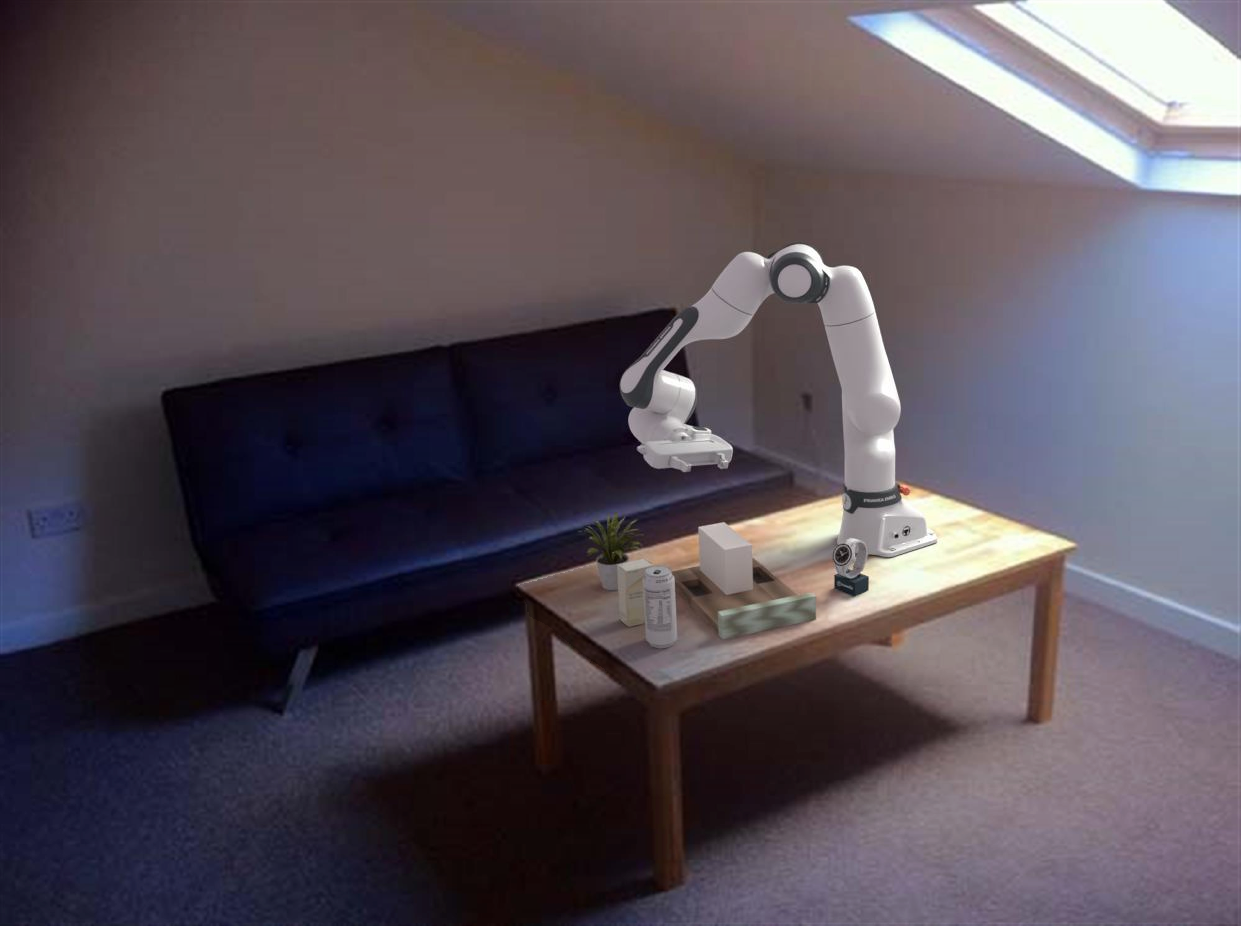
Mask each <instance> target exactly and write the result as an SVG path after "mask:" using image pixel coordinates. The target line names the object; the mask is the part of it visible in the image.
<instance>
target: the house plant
mask: <svg viewBox="0 0 1241 926" xmlns="http://www.w3.org/2000/svg"><path fill="white" fill-rule="evenodd" d="M618 516H619V515H618V511H617V512H615V514H614V515H613V516H612V519H611V518H610V513H607V522H606V523H607V525H606V529H607V532H606V530H605V527H604V526H603V525H602V523H600V521H598V520H597V519H595V518H594V522H595V523H594V525H596V526H597V527H598V530H599V532H600V533H601V536H602V539H601V537H600V535H599V533H598V532H596V530H594V529H593V527H591V526H590V525H591V524H593V523H590V525H589V526H587V527H588V528H589V529H588V528H587V527H584V529H585V531H587V532H588V533H590V534H591V535H592V536H589V537H588V539H589V540H591V542H594V543H595V544H597V545H598V546H599V547H600V549H601V550H599V549H598V548H596V547H589V548H588V549H587V552H586V553H587V554H588V553H589V554H588V555H587V556H590V555H593V554H596V553H599V554H600V555H598V556H597V557H596V559H595V560H596V561H595V563H596V565H597V566H596V567H597V571H598V574H599V578H600V582H601V586H602V588H603V589H604V590H607V591H618V574H617V564H621V563H625V562H629V561H630V560H629V559H630V558H629V556H628V554H626V553H625V552H626V551H627V550H629V549H630V550H631V549H633V550H634V549H638V550H640V548H639V547H638V546H637V545H640V546H642V544H641V542H639V541H637V540H631V541H628V540H630V539H631V538H634V537H639V536H640V537H641V536H643V534H640V533H637V534H635V533H634V532H633V531H639V530H641V529H640V528H635V529H634V528H633V529H630V528H631V526H632V525H634V523H636V522H637V521H639V519H634V520H632V521H631V522H630V523H629V524H627V525H626V527H625V528H623V530H622V531H621V532H620V533H618V530H619V528H620V527H621V525H622V523H623V522H624V520H625V518H626V516H627V515H625V516H624V517H623V518H622V519H621V520H620V521H618ZM629 529H630V530H629ZM579 532H581V530H579V531H577V533H579ZM617 533H618V534H617ZM602 540H603V541H602ZM630 544H631V545H630ZM627 545H628V546H627ZM623 551H624V552H623Z"/></svg>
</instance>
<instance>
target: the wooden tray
mask: <svg viewBox="0 0 1241 926" xmlns="http://www.w3.org/2000/svg"><path fill="white" fill-rule="evenodd" d="M752 567H753V590H748V591H743V592H739V593H734V594H729V595H726V594H725V593H724V592H723V591H722V590H721V589H719V588H718V587H717V586H716V585H715V584H714V583H713V582H712V581H711V580H710V579H709V578H708V577H707V576H706V575H705V574H704V573H703V572H702V571H701V570H700V565H698V566H692V567H688V568H683V569H678V570H671V573H672V575H673V576H674V580H675V592H677V593H678V594H679V595H680V596H681V597H682V599H683V600H685V602H687V604H688V605H689V606H690V607H691V608H692V609H693V610H694V611H695V610H696V611H695V612H696V613H697V614H698V615H699V616H700V617H701V618H702V619H703V621H704V622H706V624H707V623H708V624H707V625H708V626H710V628H711V629H712V630H713V631H714V632H715V633H716V634H717V636H719V637H720V638H721V639H722V640H728V639H731V638H735V637H739V636H745V635H751V634H755V633H759V632H764V631H768V630H773V629H778V628H781V627H783V628H784V627H786V626H790V625H796V624H801V623H805V622H809V621H815V620H817V596H816V595H815V594H814V593H812V592H806V593H802V594H801V593H800V594H797V593H796V592H795V591H794V590H792V589H791V588H790V587H789V586H788V585H786V583H784V582H783V581H782V580H780V579H779V578H778V577H777V576H775V574H773V573H772V572H771V571H770V570H769V569H767V568H766V567H765V566H764V565H763V564H761V563H760V562H759V561H757V560H756V559H755V558H754V557H753V556H752Z"/></svg>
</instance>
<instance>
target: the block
mask: <svg viewBox="0 0 1241 926" xmlns="http://www.w3.org/2000/svg"><path fill="white" fill-rule="evenodd" d="M697 528H698V529H697V530H698V548H699V549H698V551H699V553H698V554H699V555H698V557H699V566H700V570H701V571H702V572H703V573H704V574H705V575H706V576H707V577H708V578H709V579H710V580H711V581H712V582H713V583H714V584H715V585H716V586H717V587H718V588H719V589H721V590H722V591H723V592H724V593H725V594H726V595H729V594H734V593H739V592H743V591H748V590H753V567H752V557H753V544H752V543H751V542H749V541H748V540H747V539H745V538H744V537H743V536H742V535H741V534H739V532H737V531H736V530H735V529H733V528H732V527H731V526H729V525H728V524H727V523H726V522H724V521H723V522H718V523H712V524H706V525H702V526H698V527H697Z"/></svg>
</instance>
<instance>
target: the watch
mask: <svg viewBox="0 0 1241 926" xmlns="http://www.w3.org/2000/svg"><path fill="white" fill-rule="evenodd" d="M856 543H858V546H859V551H858V552H857V553H855V548H856V545H855V544H856ZM831 555H832V556H831V557H832V561H833V566H834V568H835V570H836V573H835V574H834V575H833V576H834V577H833V578H834V579H833V583H834V584H833V589H834V590H837V591H839V592H842V593H844V594H847V595H850V596H852V597H855V598H856V597H858V596H859V595H861V594H864V593H866V592H867V591H870V590H869V587H870V586H869V585H870V583H869V580H870V576H868V575H865V574H863V573H861V572H863V571H864V569H865V567H866V563H867V559H868V555H869V554H867V546H866V544H865V543H864V542H863V541H860V540H857V539H854V538H849V539H847V540H845V541H843V542H842V543H841V544H839V545H838V544H837V545H836V546H835V547H834V549H833V551H832V554H831ZM851 565H852V569H850V568H849V567H850V566H851Z"/></svg>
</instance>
